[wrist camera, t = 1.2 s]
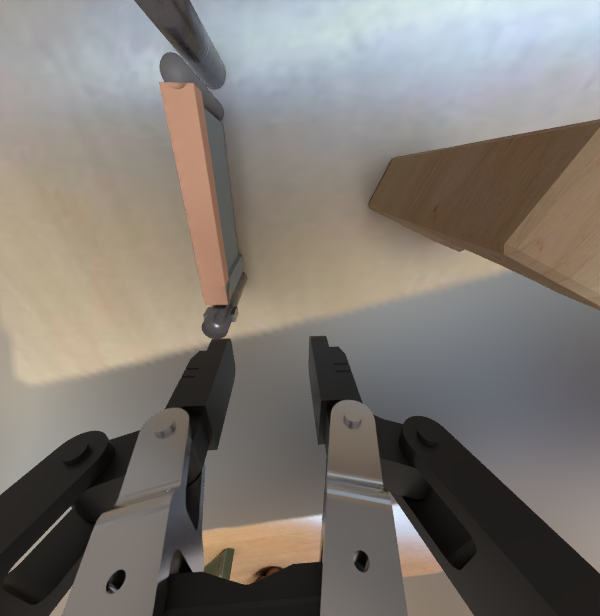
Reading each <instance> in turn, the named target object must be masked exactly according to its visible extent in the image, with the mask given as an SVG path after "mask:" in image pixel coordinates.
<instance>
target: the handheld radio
mask: <svg viewBox="0 0 600 616" xmlns="http://www.w3.org/2000/svg"><path fill="white" fill-rule="evenodd" d="M233 554H234V549H231V548H227V549H226V550H224V551H223V552H222V553H221V554H220V555H218V556H217V557H216V558H215V559H213V560H212V561H211V562H210V563H209V564H207V565H206V566H205V567H204V572H206V573H209V574H212V575H215V576H218V577H221V578H224V579H227V580H229V579H230V573H231V567H232V561H233Z"/></svg>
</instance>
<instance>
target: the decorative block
mask: <svg viewBox="0 0 600 616" xmlns="http://www.w3.org/2000/svg"><path fill="white" fill-rule="evenodd" d="M369 206H370V208H371V209H373V210H375V211H377V212H379V213H381V214H383V215H385V216H387V217H389V218H391V219H393V220H395V221H396V222H398V223H400V224H402V225H404V226H406V227H408V228H410V229H412V230H414V231H416V232H418V233H420V234H422V235H424V236H426V237H428V238H430V239H432V240H434V241H436V242H438V243H440V244H442V245H445V246H447V247H450V248H452V249H454V250H457V251H459V252H460V251H462V250H464V249H466V250H468V251H470V252H473V253H475V254H477V255H479V256H481V257H484V258H486V259H488V260H490V261H493V262H495V263H497V264H499V265H501V266H504V267H506V268H508V269H510V270H512V271H514V272H516V273H519V274H521V275H523V276H525V277H527V278H529V279H531V280H533V281H536V282H537V283H539V284H541V285H543V286H546V287H548V288H550V289H551V290H554V291H556V292H557V293H560V294H562V295H564V296H567V297H569V298H571V299H574V300H576V301H579V302H581V303H583V304H586V305H588V306H591V307H593V308H596V309H598V310H600V119H599V120H593V121H588V122H583V123H577V124H572V125H566V126H561V127H555V128H550V129H545V130H539V131H534V132H528V133H523V134H517V135H512V136H507V137H501V138H496V139H491V140H486V141H480V142H475V143H470V144H465V145H459V146H454V147H449V148H443V149H438V150H432V151H427V152H421V153H416V154H411V155H406V156H400V157H396V158H394V159H392V161H391V163H390V164H389V166H388V168H387V170H386V172H385V174H384V176H383V178H382V180H381V182H380V184H379V185H378V187H377V189H376V191H375V193H374V195H373V197H372V199H371V201H370V203H369Z"/></svg>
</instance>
